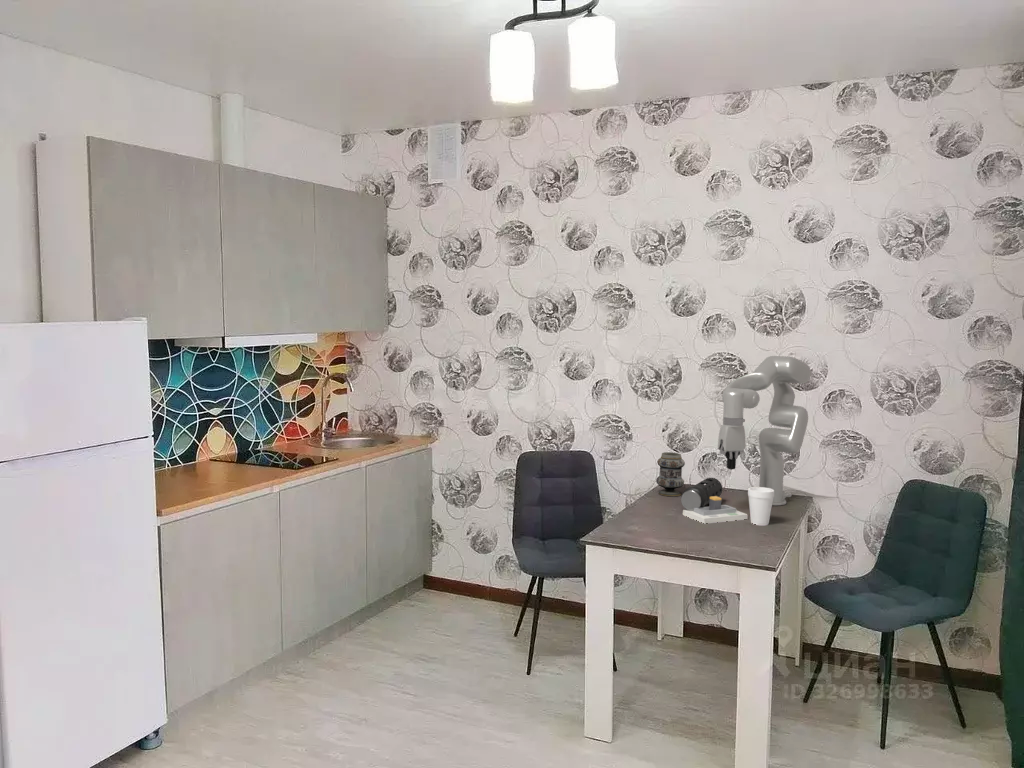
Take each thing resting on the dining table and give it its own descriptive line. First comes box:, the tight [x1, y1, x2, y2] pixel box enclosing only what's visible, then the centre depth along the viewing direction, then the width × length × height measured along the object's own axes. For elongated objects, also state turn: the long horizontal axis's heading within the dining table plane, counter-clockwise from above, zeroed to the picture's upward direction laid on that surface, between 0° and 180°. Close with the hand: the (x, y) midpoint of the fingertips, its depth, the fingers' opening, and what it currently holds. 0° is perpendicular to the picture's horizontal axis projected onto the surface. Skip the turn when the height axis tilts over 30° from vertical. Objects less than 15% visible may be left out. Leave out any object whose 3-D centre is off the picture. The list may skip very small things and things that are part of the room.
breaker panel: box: [682, 504, 749, 525], centre depth 312 cm, size 20×14×4 cm
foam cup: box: [747, 486, 774, 526], centre depth 303 cm, size 10×9×13 cm
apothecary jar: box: [655, 451, 686, 497], centre depth 351 cm, size 12×12×18 cm
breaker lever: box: [708, 496, 722, 510], centre depth 311 cm, size 3×3×6 cm
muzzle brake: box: [680, 477, 723, 511], centre depth 325 cm, size 10×28×10 cm, turn 149°
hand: (731, 468), depth 313 cm, fingers closed
